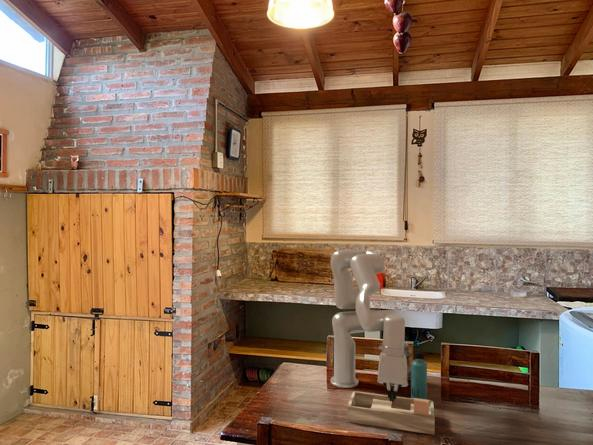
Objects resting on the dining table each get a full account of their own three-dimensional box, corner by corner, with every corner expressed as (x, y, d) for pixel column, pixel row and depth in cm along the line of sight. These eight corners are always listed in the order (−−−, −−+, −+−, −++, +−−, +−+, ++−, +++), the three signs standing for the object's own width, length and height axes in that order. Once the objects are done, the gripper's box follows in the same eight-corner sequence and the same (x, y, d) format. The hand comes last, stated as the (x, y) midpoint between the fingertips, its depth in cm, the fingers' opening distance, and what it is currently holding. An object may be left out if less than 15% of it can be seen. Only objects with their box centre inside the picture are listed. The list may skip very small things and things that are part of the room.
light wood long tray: (353, 404, 161) (353, 390, 160) (433, 415, 152) (433, 400, 152) (347, 421, 147) (347, 405, 147) (434, 434, 139) (434, 417, 139)
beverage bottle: (427, 399, 166) (427, 350, 166) (427, 406, 160) (427, 355, 160) (411, 397, 168) (411, 348, 168) (409, 403, 162) (410, 353, 162)
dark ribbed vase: (414, 388, 177) (415, 347, 177) (387, 388, 177) (387, 347, 177) (407, 377, 189) (408, 339, 189) (381, 377, 189) (382, 338, 189)
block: (413, 412, 146) (413, 398, 146) (428, 414, 145) (428, 400, 145) (413, 418, 142) (413, 404, 142) (428, 420, 140) (428, 406, 140)
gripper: (371, 351, 145) (370, 401, 146) (414, 356, 141) (413, 408, 141) (373, 344, 152) (372, 392, 153) (415, 349, 148) (413, 398, 149)
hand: (391, 400), depth 147 cm, fingers closed
